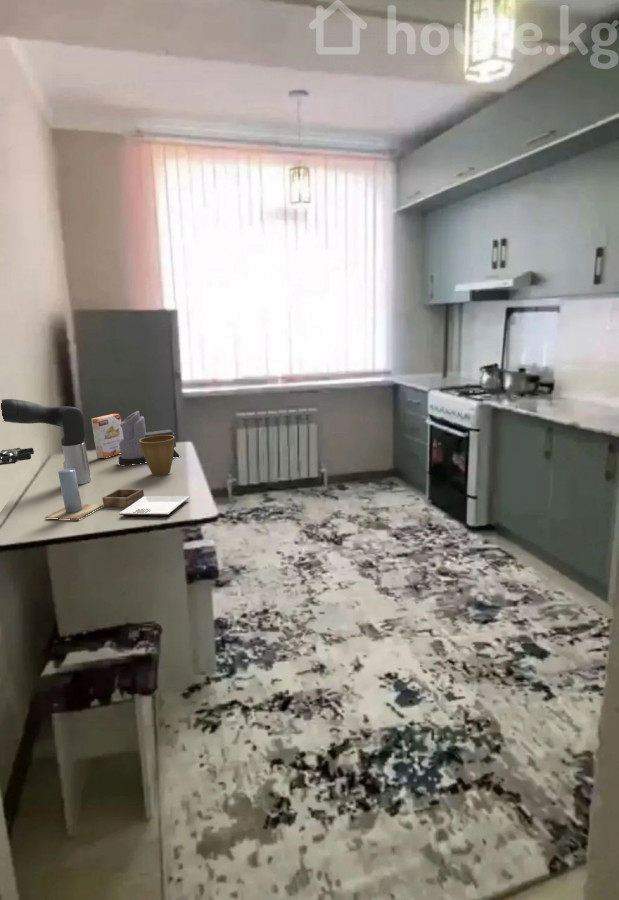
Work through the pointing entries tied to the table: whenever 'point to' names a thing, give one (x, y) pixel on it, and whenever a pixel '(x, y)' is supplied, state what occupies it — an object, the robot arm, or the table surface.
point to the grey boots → (136, 439)
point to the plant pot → (158, 453)
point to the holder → (123, 497)
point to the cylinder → (70, 490)
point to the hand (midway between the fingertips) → (32, 453)
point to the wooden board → (75, 516)
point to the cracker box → (107, 435)
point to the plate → (155, 505)
